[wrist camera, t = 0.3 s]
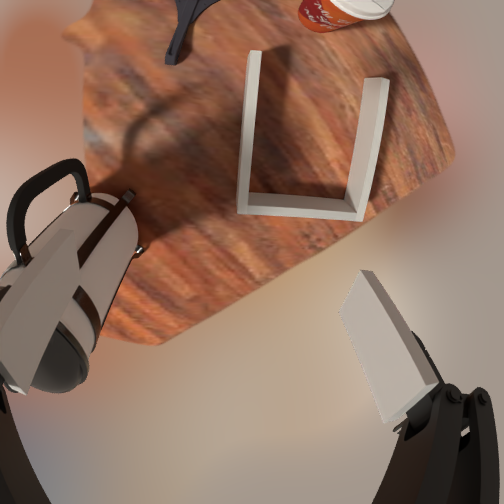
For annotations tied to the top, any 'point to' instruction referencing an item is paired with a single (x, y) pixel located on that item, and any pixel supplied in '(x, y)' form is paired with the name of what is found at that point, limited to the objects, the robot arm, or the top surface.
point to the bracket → (184, 25)
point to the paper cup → (340, 13)
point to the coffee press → (90, 264)
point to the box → (360, 165)
